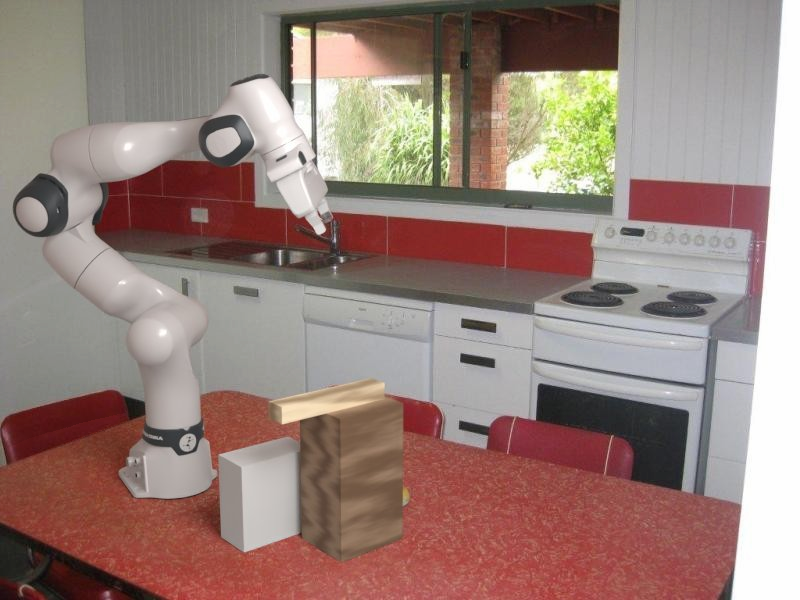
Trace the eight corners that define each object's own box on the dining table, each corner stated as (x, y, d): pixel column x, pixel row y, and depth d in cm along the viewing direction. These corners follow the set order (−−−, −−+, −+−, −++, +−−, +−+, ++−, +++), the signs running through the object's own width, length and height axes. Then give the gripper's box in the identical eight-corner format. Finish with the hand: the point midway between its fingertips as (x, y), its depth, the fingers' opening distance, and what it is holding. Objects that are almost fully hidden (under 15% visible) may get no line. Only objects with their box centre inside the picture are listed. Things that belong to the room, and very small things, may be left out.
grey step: (221, 537, 170) (218, 454, 167) (289, 514, 179) (287, 436, 176) (244, 552, 164) (241, 467, 161) (313, 528, 174) (312, 447, 170)
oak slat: (268, 418, 156) (268, 401, 155) (370, 393, 170) (370, 378, 169) (282, 424, 153) (281, 407, 152) (384, 398, 167) (384, 382, 166)
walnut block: (301, 538, 169) (299, 402, 164) (361, 517, 178) (361, 388, 173) (341, 562, 161) (340, 419, 155) (402, 539, 170) (403, 403, 164)
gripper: (284, 158, 177) (318, 221, 180) (264, 176, 158) (302, 247, 161) (313, 143, 176) (347, 207, 179) (296, 160, 156) (334, 231, 160)
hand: (325, 226), depth 170 cm, fingers open, 8 cm apart
